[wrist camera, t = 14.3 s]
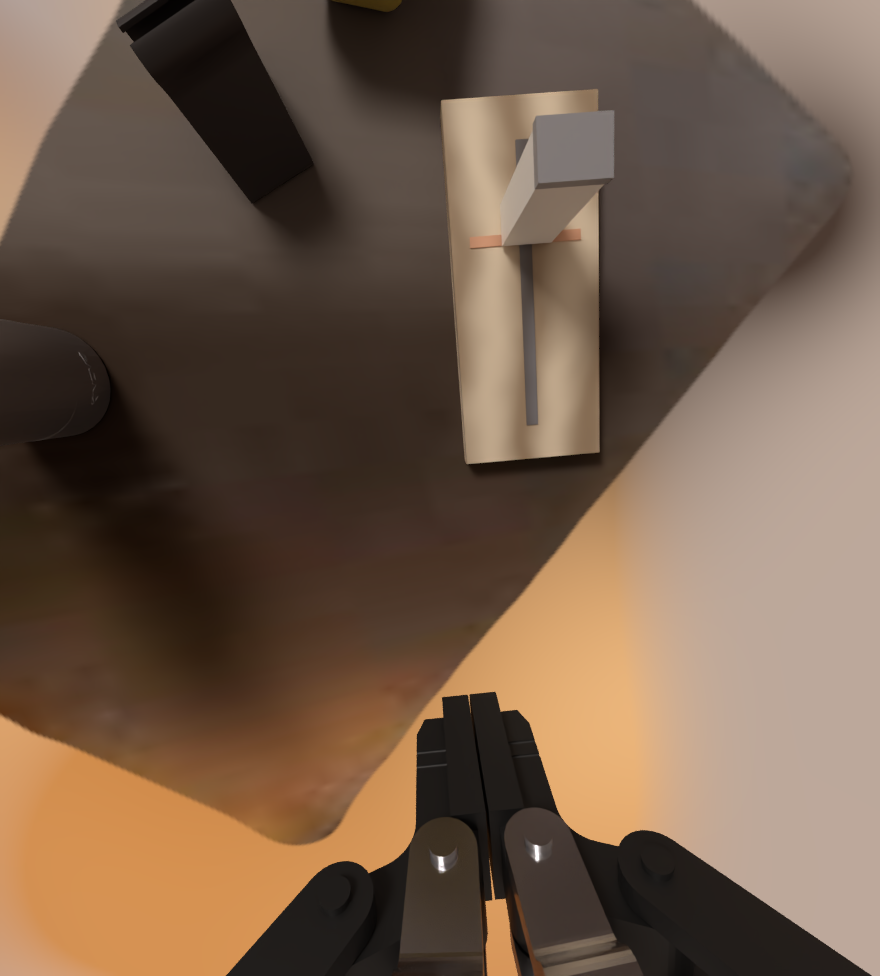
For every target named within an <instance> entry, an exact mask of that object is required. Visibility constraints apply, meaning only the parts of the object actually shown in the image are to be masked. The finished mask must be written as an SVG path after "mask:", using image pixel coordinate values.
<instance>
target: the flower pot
mask: <svg viewBox="0 0 880 976" xmlns="http://www.w3.org/2000/svg"><path fill="white" fill-rule="evenodd" d="M331 1H336V2H341V3H346V4H351V5H356V6H361V7H365V8H370V9H375V10H379V11H383V12H389V11H392V10H394V9H396V8H397V7H398V6H399V5H400V3H401V2H402V0H331Z"/></svg>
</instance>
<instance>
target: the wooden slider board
mask: <svg viewBox="0 0 880 976" xmlns="http://www.w3.org/2000/svg"><path fill="white" fill-rule="evenodd" d="M595 111H598V89H592V90H578V91H564V92H549V93H535V94H521V95H507V96H493V97H479V98H465V99H451V100H441V110H440V121H441V135H442V149H443V163H444V177H445V191H446V205H447V219H448V233H449V247H450V261H451V274H452V288H453V302H454V316H455V330H456V344H457V358H458V372H459V386H460V400H461V414H462V428H463V442H464V456H465V462H466V463H467V464H474V463H485V462H496V461H508V460H519V459H530V458H541V457H552V456H563V455H575V454H586V453H597V452H599V224H598V192H597V193H596V194H595V195H594V196H593V197H592V198H591V199H590V201H589V202H588V203H587V204H586V205H585V206H584V207H583V208H582V209H581V210H580V212H579V213H578V214H577V215H576V216H575V217H574V218H573V219H572V220H571V221H570V223H569V224H568V225H567V226H566V227H565V228H564V229H563V230H562V231H561V232H560V233H559V235H558V236H557V237H556V238H555V239H554V240H553V241H552V242H551V243H538V244H526V245H513V246H502V237H501V216H500V203H501V201H502V199H503V197H504V194H505V192H506V190H507V188H508V185H509V183H510V181H511V178H512V176H513V174H514V172H515V169H516V167H517V165H518V162H519V160H520V158H521V156H522V153H523V151H524V149H525V146H526V144H527V142H528V140H529V137H530V135H531V133H532V130H533V125H532V124H533V122H534V120H535V117H536V116H540V115H554V114H567V113H581V112H595Z"/></svg>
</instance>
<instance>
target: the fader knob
mask: <svg viewBox="0 0 880 976" xmlns="http://www.w3.org/2000/svg"><path fill="white" fill-rule="evenodd" d="M532 125H533V130H532V133H531V135H530V137H529V140H528V142H527V144H526V146H525V149H524V151H523V153H522V156H521V158H520V160H519V162H518V165H517V167H516V169H515V172H514V174H513V176H512V178H511V181H510V183H509V185H508V188H507V190H506V192H505V194H504V197H503V199H502V201H501V203H500V216H501V237H502V246H513V245H526V244H538V243H551V242H552V241H553V240H554V239H555V238H556V237H557V236H558V235H559V233H560V232H561V231H562V230H563V229H564V228H565V227H566V226H567V225H568V224H569V223H570V221H571V220H572V219H573V218H574V217H575V216H576V215H577V214H578V213H579V212H580V210H581V209H582V208H583V207H584V206H585V205H586V204H587V203H588V202H589V201H590V199H591V198H592V197H593V196H594V195H595V194H596V193H597V192H598V191H599V190H600V188H601V187H602V186H603V185H604V184H608V183H609V182H610V181H611V180H612V179H613V178H614V110H609V111H595V112H581V113H567V114H554V115H540V116H536V117H535V120H534V122H533V124H532Z"/></svg>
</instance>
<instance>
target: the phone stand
mask: <svg viewBox="0 0 880 976" xmlns="http://www.w3.org/2000/svg"><path fill="white" fill-rule="evenodd" d="M116 22H117V25H118V27H119V28H120V29H121V31H122V32H123V33H124V32H125V31H126V33H127V34H128V35H129V36H130V37H131V39H132V40H133V41H134V43H132V44H131V45H130V46H131V48H132V49H133V51H134V52H135V54H136V55H137V57H138V58H139V60H140V61H141V62H142V64H143V65H144V67H145V68H146V69H147V71H148V72H149V73H150V75H151V76H152V77H153V78H154V80H155V81H156V82H157V83H158V84H159V85H160V86H161V87H162V88H163V90H164V91H165V92H166V93H167V94H168V95H169V97H170V98H171V99H172V100H173V102H174V103H175V104H176V105H177V107H178V108H179V109H180V111H181V112H182V113H183V115H184V116H185V117H186V118H187V120H188V121H189V122H190V124H191V125H192V126H193V128H194V129H195V130H196V131H197V133H198V134H199V135H200V137H201V138H202V139H203V141H204V142H205V143H206V144H207V146H208V147H209V148H210V150H211V151H212V152H213V154H214V155H215V156H216V157H217V159H218V160H219V161H220V163H221V164H222V165H223V167H224V168H225V169H226V170H227V172H228V173H229V174H230V176H231V177H232V178H233V180H234V181H235V182H236V183H237V185H238V186H239V187H240V189H241V190H242V191H243V193H244V194H245V195H246V196H247V198H248V199H249V200H250V202H251V203H253V202H255V201H256V200H258V199H260V198H261V197H263V196H264V195H266V194H267V193H269V192H271V191H272V190H274V189H275V188H277V187H278V186H280V185H281V184H283V183H285V182H286V181H288V180H289V179H291V178H292V177H294V176H295V175H297V174H299V173H300V172H302V171H303V170H305V169H306V168H308V167H310V166H311V165H313V164H314V163H313V161H312V159H311V157H310V155H309V153H308V151H307V149H306V147H305V145H304V143H303V141H302V139H301V137H300V136H299V134H298V132H297V130H296V128H295V126H294V124H293V122H292V120H291V118H290V116H289V114H288V112H287V110H286V108H285V106H284V104H283V102H282V100H281V98H280V96H279V95H278V93H277V91H276V89H275V87H274V85H273V83H272V81H271V79H270V77H269V75H268V73H267V71H266V69H265V67H264V65H263V63H262V61H261V59H260V57H259V55H258V54H257V52H256V50H255V48H254V46H253V44H252V42H251V40H250V38H249V36H248V34H247V32H246V29H245V27H244V25H243V23H242V21H241V19H240V17H239V15H238V13H237V11H236V9H235V8H234V6H233V4H232V2H231V0H145V1H144V2H142V3H141V4H139V5H138V6H137V7H135V8H134V9H132V10H131V11H129V12H128V13H127V14H125V15H124V16H122V17H121V18H119V19H118V20H116Z"/></svg>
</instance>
